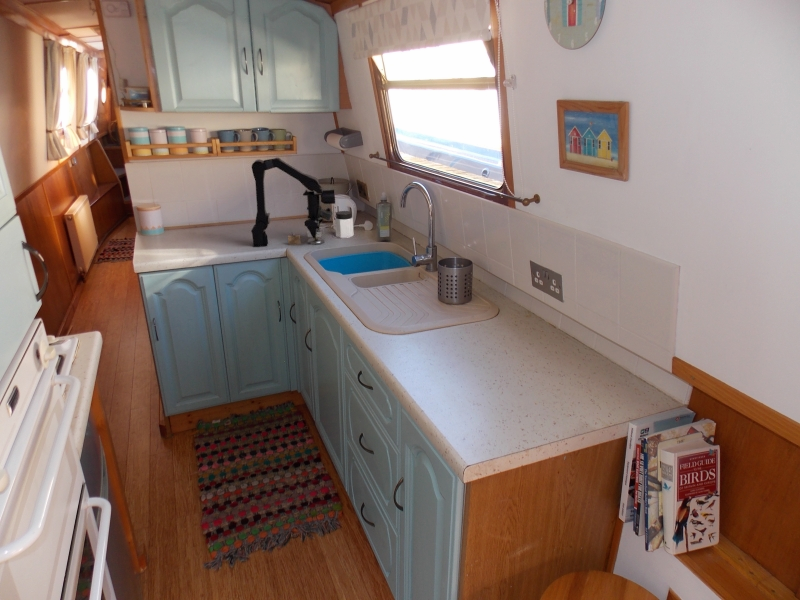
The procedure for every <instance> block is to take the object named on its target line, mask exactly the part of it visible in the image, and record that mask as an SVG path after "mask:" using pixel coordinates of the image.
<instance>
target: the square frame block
mask: <svg viewBox="0 0 800 600" xmlns="http://www.w3.org/2000/svg"><path fill="white" fill-rule="evenodd" d="M324 230H325V229H324V228H320V227H319V228H317V230H316V237H318V238H321V237H322V236H323V235H324ZM306 233H307V237H309V238H313V237H312V235H311V233H310V231H309V230H308V229H307V232H306Z"/></svg>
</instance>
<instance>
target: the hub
mask: <svg viewBox="0 0 800 600" xmlns="http://www.w3.org/2000/svg"><path fill="white" fill-rule="evenodd" d="M325 242H326V240H325V238H321V237H316V238H313V237H311V238H308V239H307V244H308V245H311V246H318V245H322V244H325Z"/></svg>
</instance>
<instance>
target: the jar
mask: <svg viewBox="0 0 800 600" xmlns="http://www.w3.org/2000/svg"><path fill="white" fill-rule="evenodd" d="M334 222H335V223H334V226H335V237H337V238H339V239H347V238H348V239H349V238H352V237H353V236H354V217H353V212H352V211H349V210H341V211H340V210H339V211H336V212H335V218H334Z"/></svg>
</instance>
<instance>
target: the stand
mask: <svg viewBox="0 0 800 600" xmlns="http://www.w3.org/2000/svg"><path fill="white" fill-rule="evenodd" d="M291 234H292V235H287V242H288V243H287V244H288V246H295V245H301V235H300V234H296V233H295V232H292V233H291Z"/></svg>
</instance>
